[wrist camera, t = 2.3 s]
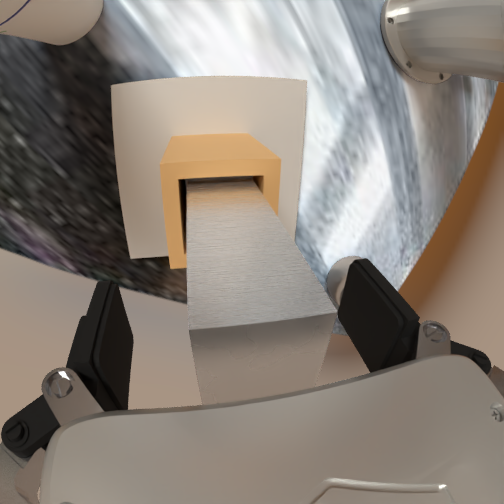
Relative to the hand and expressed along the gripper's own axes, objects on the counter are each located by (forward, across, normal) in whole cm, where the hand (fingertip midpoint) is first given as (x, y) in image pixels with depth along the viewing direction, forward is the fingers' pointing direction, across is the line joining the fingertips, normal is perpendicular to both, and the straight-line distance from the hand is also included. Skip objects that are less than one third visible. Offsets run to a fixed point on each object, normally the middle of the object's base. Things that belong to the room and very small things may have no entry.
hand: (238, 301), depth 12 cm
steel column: (+18, 0, 0) cm, 18 cm away
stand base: (+20, 0, 0) cm, 20 cm away
